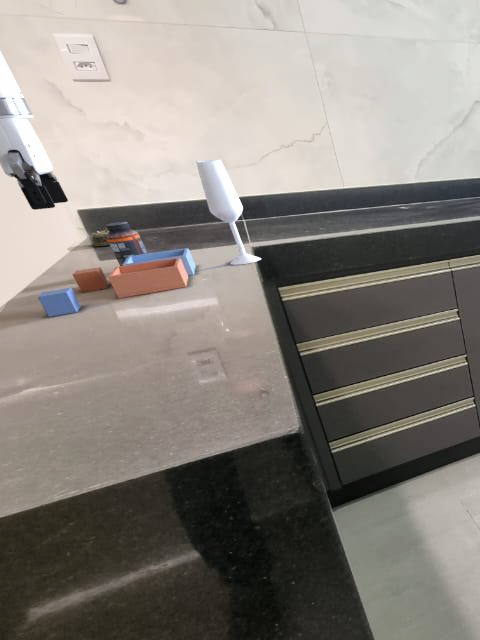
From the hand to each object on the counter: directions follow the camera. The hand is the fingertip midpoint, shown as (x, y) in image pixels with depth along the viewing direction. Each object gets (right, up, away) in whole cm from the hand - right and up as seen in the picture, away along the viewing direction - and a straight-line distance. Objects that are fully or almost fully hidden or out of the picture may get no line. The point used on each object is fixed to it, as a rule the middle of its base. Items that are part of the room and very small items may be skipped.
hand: (51, 205), depth 105 cm
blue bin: (+5, -11, +20) cm, 23 cm away
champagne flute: (+17, -6, +29) cm, 34 cm away
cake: (-45, +5, +58) cm, 73 cm away
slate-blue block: (+6, -21, -3) cm, 22 cm away
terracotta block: (-3, -15, +12) cm, 19 cm away
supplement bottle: (-7, -8, +26) cm, 28 cm away
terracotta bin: (+11, -15, +11) cm, 21 cm away
